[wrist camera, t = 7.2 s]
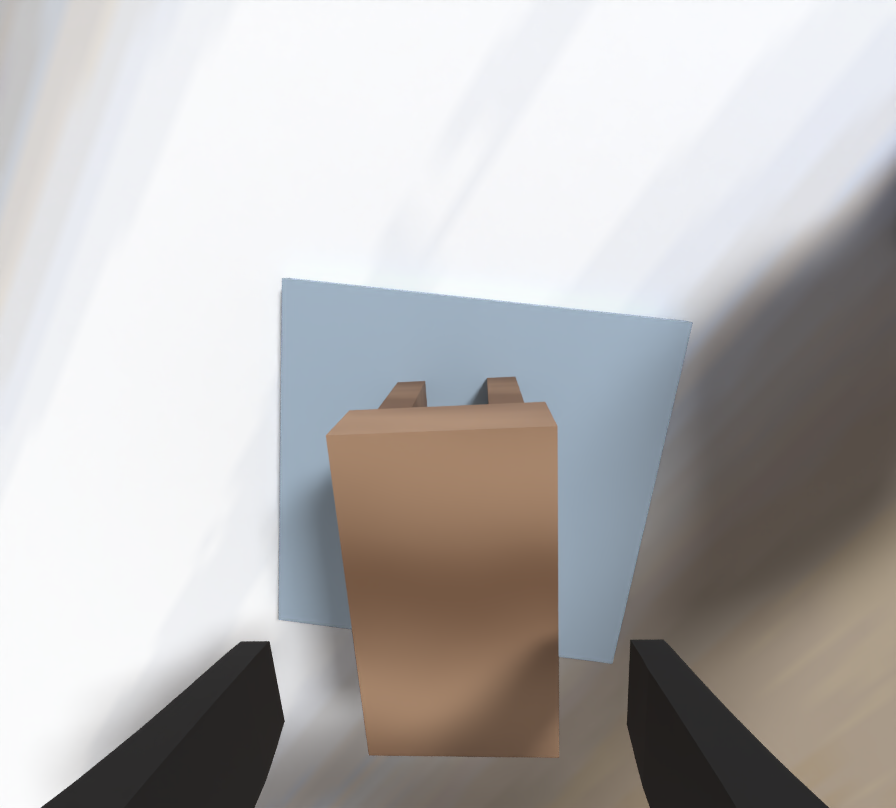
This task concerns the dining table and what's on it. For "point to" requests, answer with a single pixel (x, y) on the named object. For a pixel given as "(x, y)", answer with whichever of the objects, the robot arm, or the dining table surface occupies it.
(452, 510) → the stool
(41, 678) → the dining table surface
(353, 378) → the mat
